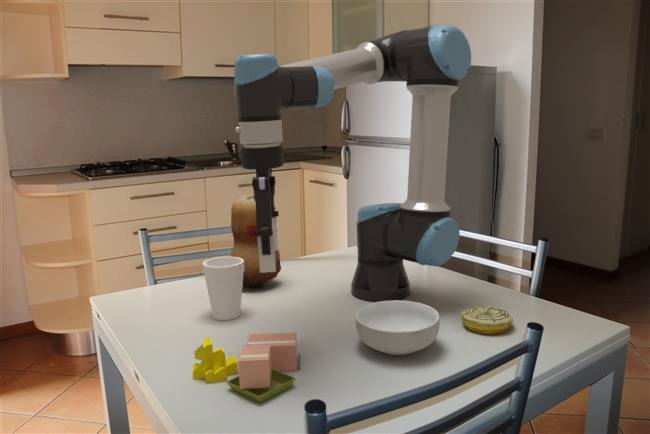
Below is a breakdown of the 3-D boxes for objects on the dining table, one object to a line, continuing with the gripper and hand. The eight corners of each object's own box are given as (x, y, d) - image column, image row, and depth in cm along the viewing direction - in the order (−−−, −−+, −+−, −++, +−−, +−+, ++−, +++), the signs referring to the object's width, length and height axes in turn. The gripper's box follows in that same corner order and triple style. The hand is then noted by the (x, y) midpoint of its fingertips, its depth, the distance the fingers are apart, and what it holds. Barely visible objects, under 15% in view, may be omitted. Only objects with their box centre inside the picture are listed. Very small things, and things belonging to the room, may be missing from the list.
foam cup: (238, 323, 129) (235, 268, 126) (199, 321, 131) (196, 266, 128) (251, 309, 138) (249, 257, 135) (215, 307, 140) (212, 255, 137)
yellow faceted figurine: (239, 379, 103) (236, 339, 101) (193, 385, 101) (190, 344, 99) (236, 365, 108) (234, 326, 107) (193, 370, 107) (190, 331, 105)
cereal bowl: (354, 331, 123) (354, 300, 122) (432, 330, 123) (432, 299, 121) (356, 366, 107) (356, 330, 105) (446, 366, 106) (446, 330, 105)
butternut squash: (232, 295, 148) (226, 200, 143) (228, 280, 161) (223, 193, 156) (285, 290, 151) (281, 197, 146) (277, 276, 164) (273, 190, 159)
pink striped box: (300, 356, 111) (299, 331, 110) (299, 370, 105) (299, 344, 104) (250, 358, 111) (249, 333, 110) (247, 372, 105) (246, 346, 104)
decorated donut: (520, 326, 124) (521, 309, 124) (498, 341, 117) (498, 324, 116) (476, 315, 131) (477, 299, 131) (452, 328, 124) (453, 312, 123)
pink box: (271, 371, 102) (270, 344, 101) (269, 387, 96) (268, 359, 95) (243, 372, 102) (241, 345, 101) (239, 388, 96) (238, 360, 95)
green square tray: (226, 392, 99) (225, 381, 99) (263, 374, 105) (263, 363, 105) (259, 409, 93) (258, 397, 93) (297, 389, 100) (296, 378, 99)
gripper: (245, 140, 113) (253, 244, 117) (233, 153, 89) (243, 283, 93) (283, 138, 113) (289, 242, 118) (281, 150, 89) (289, 280, 93)
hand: (269, 260), depth 105 cm, fingers open, 13 cm apart
